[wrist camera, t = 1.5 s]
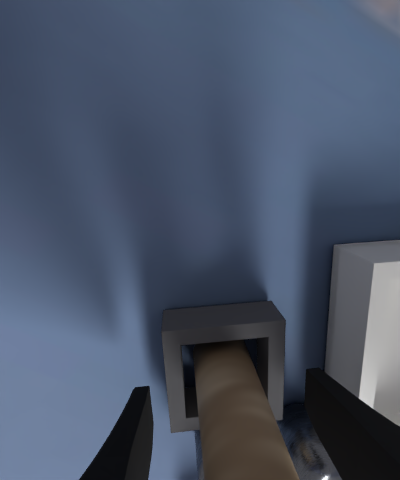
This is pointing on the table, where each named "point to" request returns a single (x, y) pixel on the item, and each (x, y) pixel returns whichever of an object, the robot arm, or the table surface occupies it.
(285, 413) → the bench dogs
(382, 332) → the tray
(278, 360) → the dowel collar
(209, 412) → the dowel
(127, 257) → the table surface
